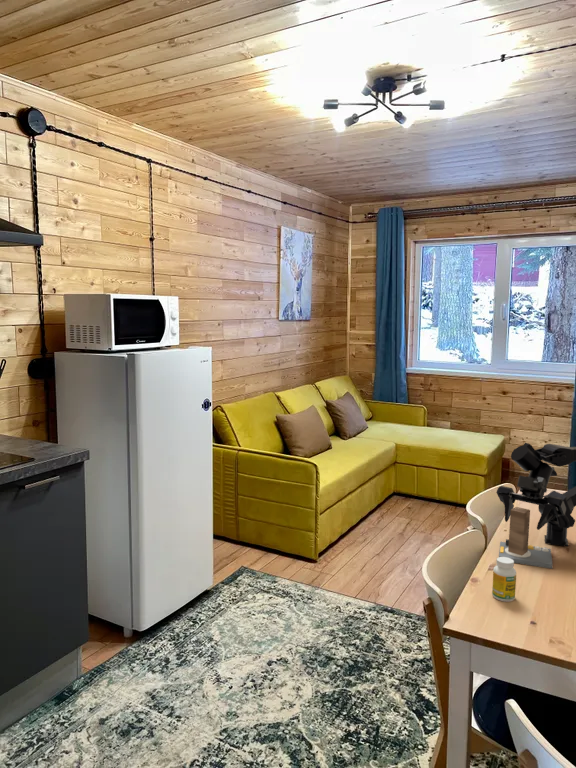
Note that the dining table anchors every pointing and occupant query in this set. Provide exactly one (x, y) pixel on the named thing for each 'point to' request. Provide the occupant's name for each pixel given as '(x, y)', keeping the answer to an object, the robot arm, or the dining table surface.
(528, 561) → the panel
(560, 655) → the dining table surface
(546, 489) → the robot arm
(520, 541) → the post
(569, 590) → the dining table surface
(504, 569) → the supplement bottle
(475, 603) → the dining table surface
